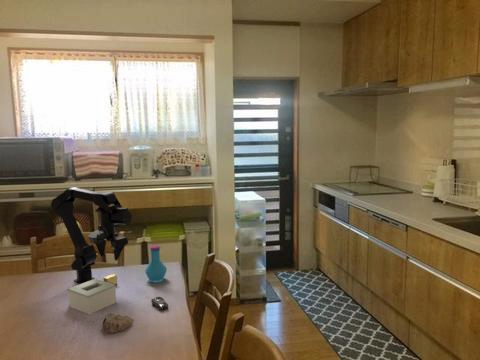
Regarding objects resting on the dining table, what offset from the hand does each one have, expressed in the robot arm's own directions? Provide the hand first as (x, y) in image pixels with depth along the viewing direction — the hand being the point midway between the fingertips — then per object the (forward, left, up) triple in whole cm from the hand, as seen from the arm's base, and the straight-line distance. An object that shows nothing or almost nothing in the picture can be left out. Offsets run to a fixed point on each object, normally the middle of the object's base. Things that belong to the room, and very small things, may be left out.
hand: (109, 258), depth 168 cm
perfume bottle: (+12, +15, -12) cm, 23 cm away
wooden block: (0, 0, -12) cm, 12 cm away
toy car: (+31, -3, -12) cm, 33 cm away
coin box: (+10, -16, -12) cm, 22 cm away
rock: (+32, -22, -12) cm, 41 cm away
